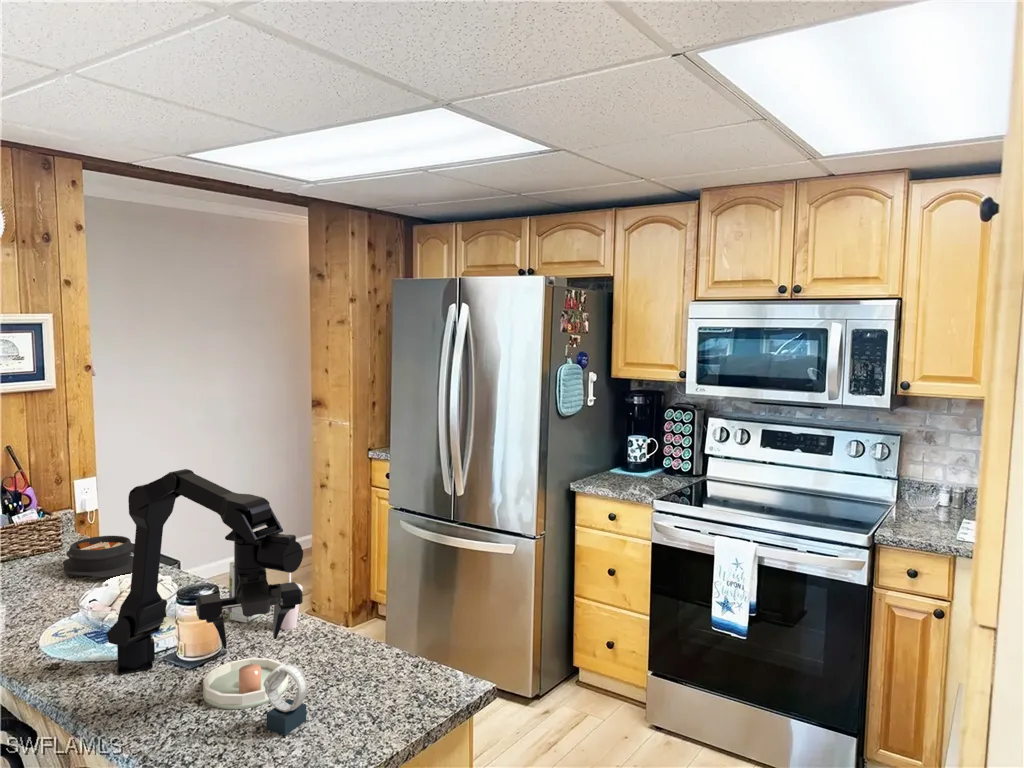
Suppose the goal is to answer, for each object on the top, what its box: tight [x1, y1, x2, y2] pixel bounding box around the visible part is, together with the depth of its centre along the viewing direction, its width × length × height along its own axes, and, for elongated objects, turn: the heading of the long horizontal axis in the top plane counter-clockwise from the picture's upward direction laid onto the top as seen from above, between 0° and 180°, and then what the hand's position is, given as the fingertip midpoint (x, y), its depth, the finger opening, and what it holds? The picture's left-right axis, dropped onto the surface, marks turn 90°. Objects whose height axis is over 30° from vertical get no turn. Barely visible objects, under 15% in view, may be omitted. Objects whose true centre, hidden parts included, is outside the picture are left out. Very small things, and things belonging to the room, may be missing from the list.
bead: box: [239, 664, 261, 694], centre depth 138 cm, size 4×4×5 cm
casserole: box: [62, 535, 135, 579], centre depth 205 cm, size 25×19×8 cm
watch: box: [263, 663, 308, 737], centre depth 129 cm, size 6×8×11 cm
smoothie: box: [280, 573, 304, 631], centre depth 171 cm, size 6×6×14 cm
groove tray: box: [202, 657, 289, 710], centre depth 142 cm, size 16×16×2 cm
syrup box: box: [228, 560, 263, 624], centre depth 175 cm, size 6×6×14 cm
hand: (250, 643), depth 137 cm, fingers open, 9 cm apart
